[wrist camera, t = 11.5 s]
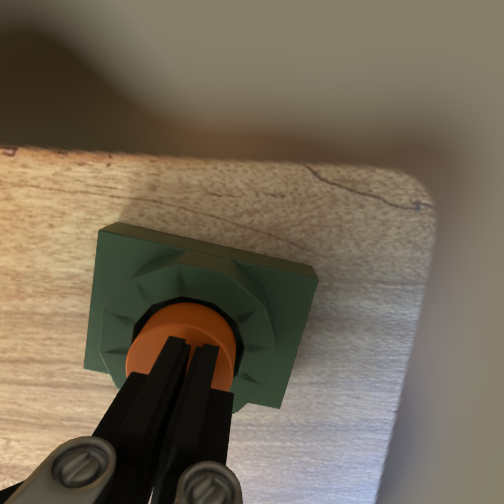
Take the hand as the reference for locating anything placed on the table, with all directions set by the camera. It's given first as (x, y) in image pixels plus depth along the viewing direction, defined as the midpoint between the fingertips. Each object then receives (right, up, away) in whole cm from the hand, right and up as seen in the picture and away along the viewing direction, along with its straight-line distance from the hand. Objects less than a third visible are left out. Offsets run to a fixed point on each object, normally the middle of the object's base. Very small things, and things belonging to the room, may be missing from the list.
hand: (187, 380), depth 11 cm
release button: (0, +1, +2) cm, 2 cm away
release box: (0, +1, +5) cm, 5 cm away
